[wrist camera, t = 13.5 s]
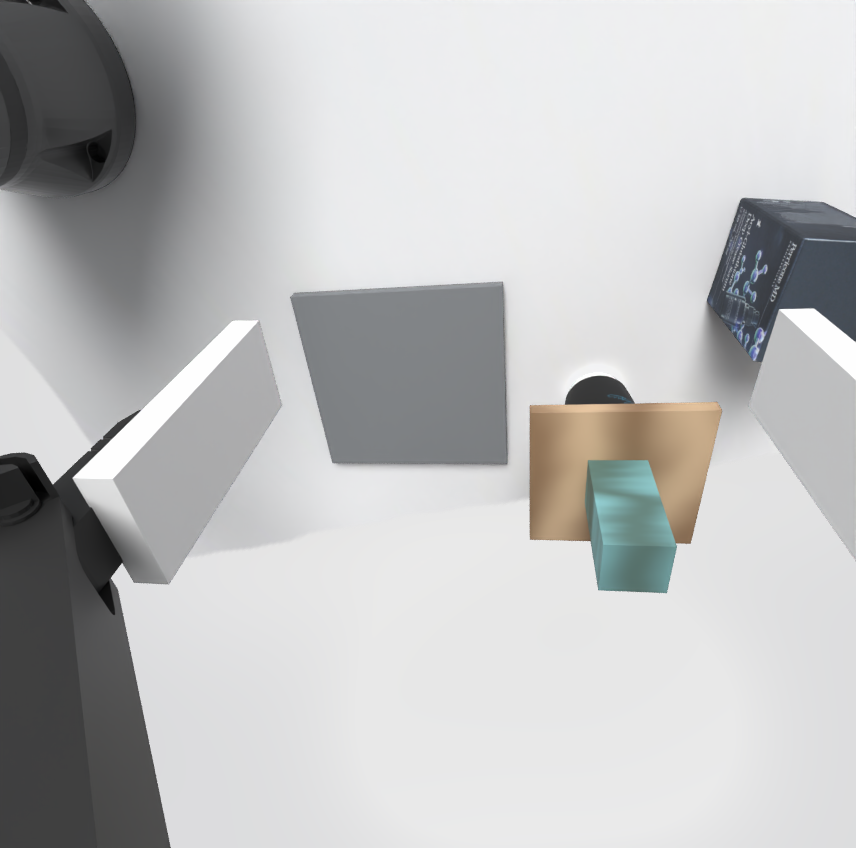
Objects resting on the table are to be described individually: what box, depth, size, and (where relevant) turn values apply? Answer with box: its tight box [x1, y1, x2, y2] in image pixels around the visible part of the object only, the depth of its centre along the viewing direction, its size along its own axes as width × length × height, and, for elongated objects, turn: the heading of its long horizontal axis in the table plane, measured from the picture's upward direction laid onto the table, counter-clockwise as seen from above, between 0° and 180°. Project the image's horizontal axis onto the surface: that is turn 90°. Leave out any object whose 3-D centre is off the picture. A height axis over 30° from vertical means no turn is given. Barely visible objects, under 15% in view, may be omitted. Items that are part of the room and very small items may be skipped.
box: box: [707, 198, 856, 362], centre depth 35 cm, size 8×6×11 cm
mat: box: [290, 282, 507, 464], centre depth 49 cm, size 18×18×1 cm
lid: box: [530, 402, 722, 593], centre depth 35 cm, size 12×12×9 cm
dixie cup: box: [565, 373, 635, 405], centre depth 43 cm, size 8×8×11 cm
